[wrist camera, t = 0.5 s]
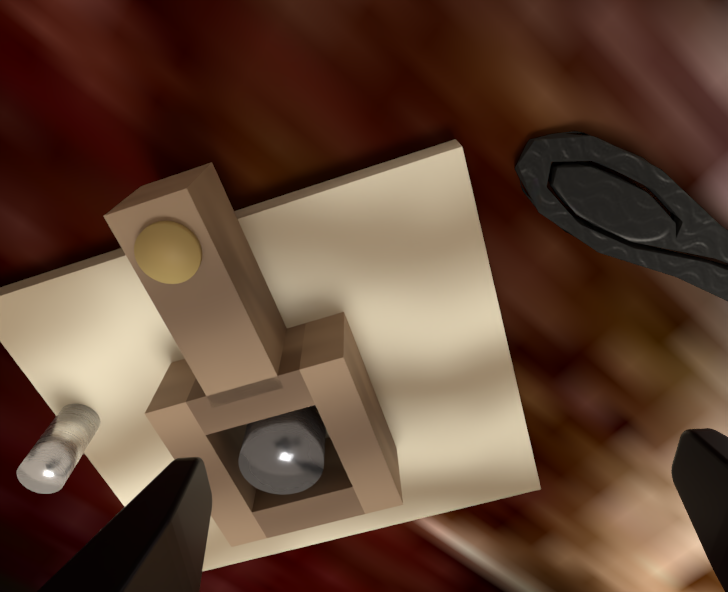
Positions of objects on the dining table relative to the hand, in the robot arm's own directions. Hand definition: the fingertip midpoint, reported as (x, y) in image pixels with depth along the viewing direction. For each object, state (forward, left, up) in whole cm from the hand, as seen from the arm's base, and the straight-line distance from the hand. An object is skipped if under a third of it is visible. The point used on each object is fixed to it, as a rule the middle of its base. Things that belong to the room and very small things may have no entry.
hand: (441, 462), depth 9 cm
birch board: (-6, +6, -12) cm, 15 cm away
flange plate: (-3, +6, -11) cm, 13 cm away
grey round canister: (-6, +6, -12) cm, 15 cm away
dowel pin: (-4, +14, -11) cm, 18 cm away
